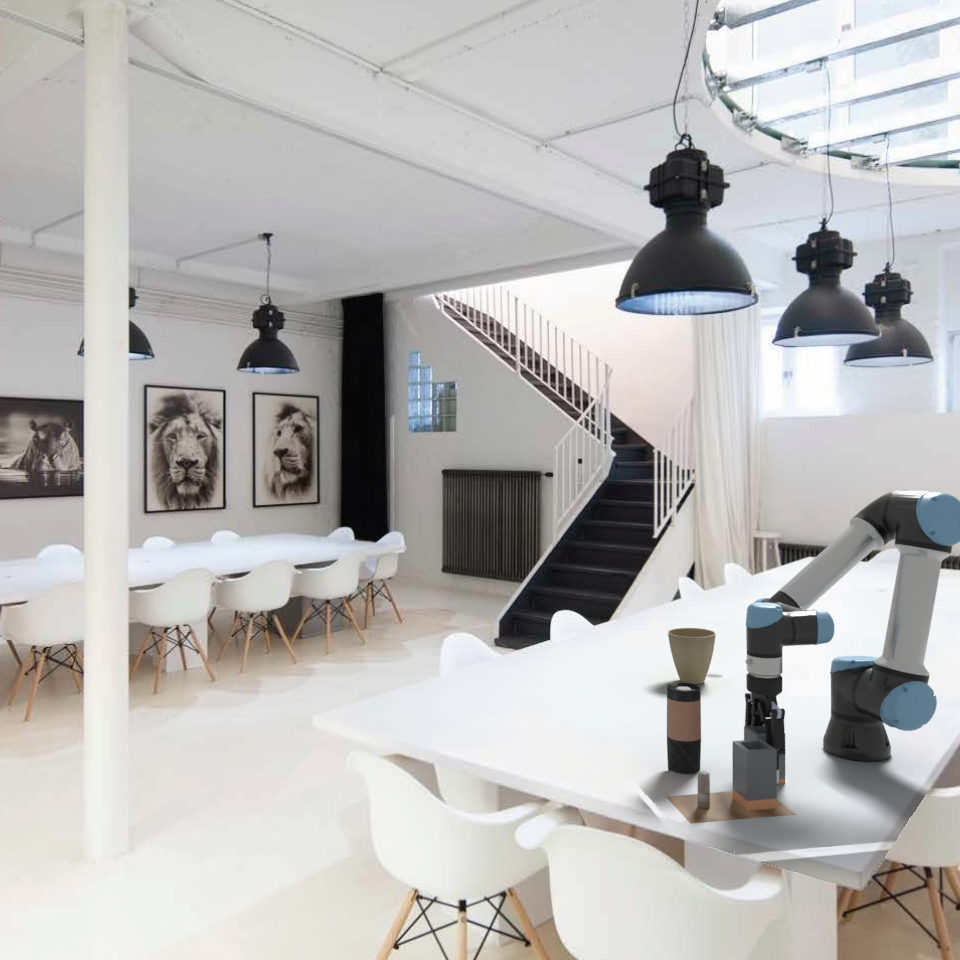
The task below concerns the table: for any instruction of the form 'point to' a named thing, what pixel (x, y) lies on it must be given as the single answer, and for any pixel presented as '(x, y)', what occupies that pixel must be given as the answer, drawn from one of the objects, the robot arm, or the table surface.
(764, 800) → the seated sleeve
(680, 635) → the plant pot
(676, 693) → the travel mug
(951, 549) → the robot arm
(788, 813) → the pinboard
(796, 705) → the table surface
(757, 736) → the banded sleeve
